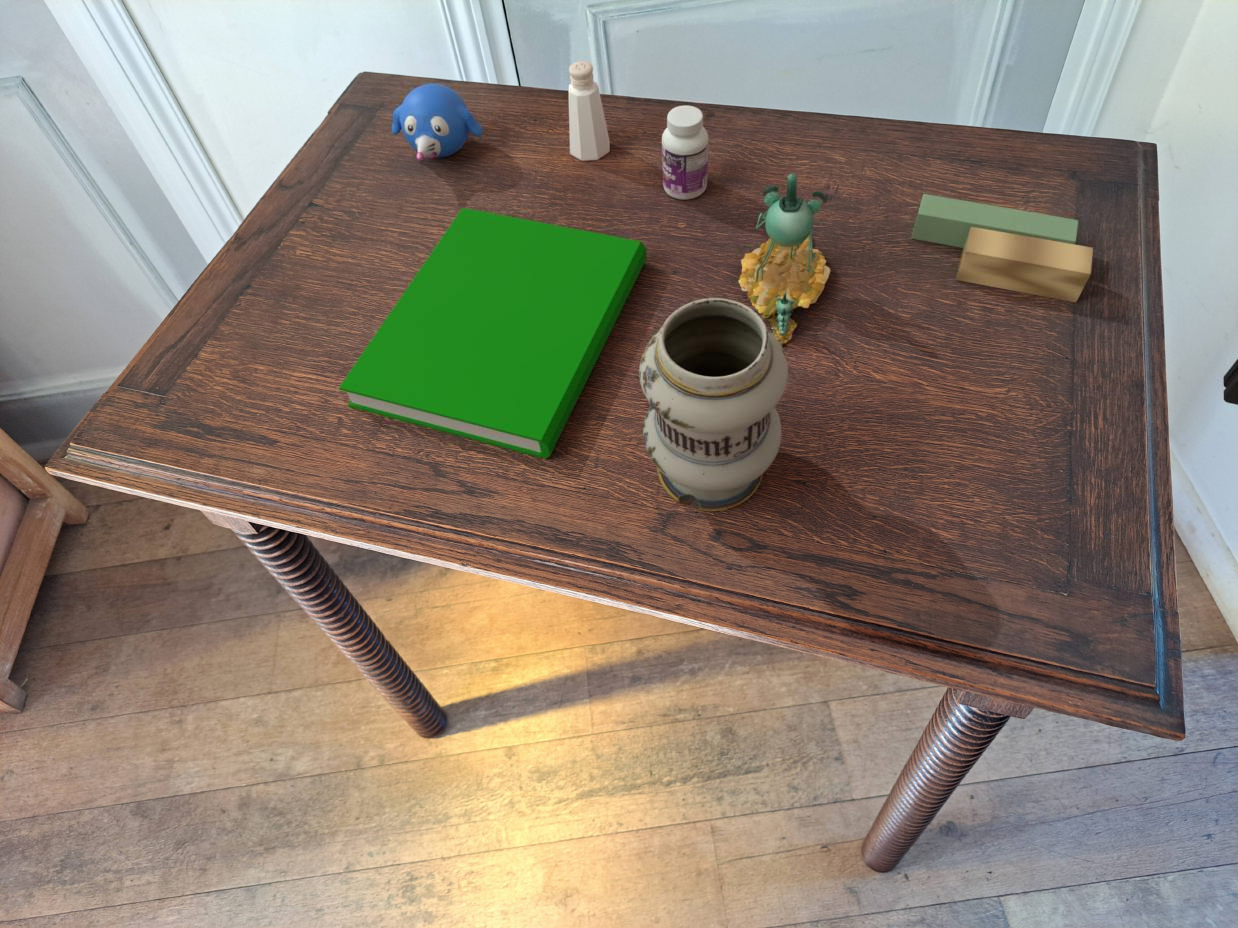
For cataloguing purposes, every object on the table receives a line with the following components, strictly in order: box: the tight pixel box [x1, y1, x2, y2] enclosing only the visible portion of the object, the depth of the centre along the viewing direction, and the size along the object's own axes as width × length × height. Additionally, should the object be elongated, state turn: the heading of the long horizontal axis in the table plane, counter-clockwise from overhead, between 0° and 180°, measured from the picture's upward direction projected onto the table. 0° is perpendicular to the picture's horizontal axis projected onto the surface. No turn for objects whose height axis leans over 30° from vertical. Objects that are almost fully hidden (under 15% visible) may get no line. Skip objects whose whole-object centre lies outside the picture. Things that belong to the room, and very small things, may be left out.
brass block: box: [955, 227, 1094, 303], centre depth 89 cm, size 12×4×4 cm, turn 70°
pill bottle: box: [661, 104, 709, 201], centre depth 99 cm, size 5×5×10 cm
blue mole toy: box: [390, 83, 484, 162], centre depth 106 cm, size 12×12×8 cm
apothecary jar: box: [638, 297, 789, 512], centre depth 72 cm, size 12×12×18 cm
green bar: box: [910, 193, 1079, 249], centre depth 92 cm, size 16×4×4 cm, turn 69°
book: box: [338, 207, 647, 460], centre depth 90 cm, size 22×28×3 cm
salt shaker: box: [568, 60, 611, 162], centre depth 104 cm, size 5×5×11 cm
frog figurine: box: [738, 173, 831, 346], centre depth 87 cm, size 10×18×15 cm, turn 159°
